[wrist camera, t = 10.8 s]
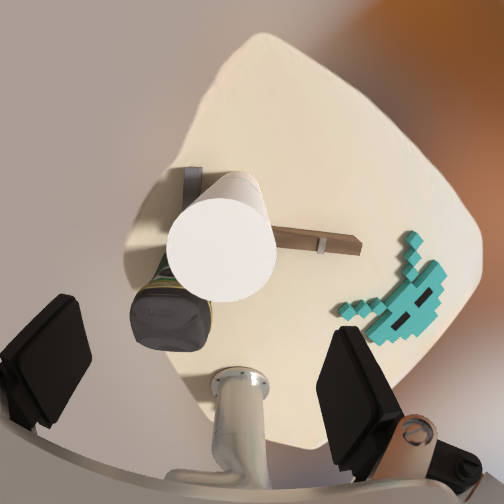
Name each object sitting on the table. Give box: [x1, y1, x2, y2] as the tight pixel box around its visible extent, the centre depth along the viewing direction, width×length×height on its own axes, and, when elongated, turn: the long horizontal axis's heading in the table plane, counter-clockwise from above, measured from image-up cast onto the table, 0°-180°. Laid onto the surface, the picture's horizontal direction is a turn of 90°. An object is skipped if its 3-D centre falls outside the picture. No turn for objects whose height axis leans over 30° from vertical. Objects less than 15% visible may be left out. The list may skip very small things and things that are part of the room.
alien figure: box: [338, 231, 447, 346], centre depth 48 cm, size 20×2×20 cm
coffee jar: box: [130, 252, 212, 352], centre depth 36 cm, size 10×8×19 cm
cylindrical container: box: [166, 171, 277, 302], centre depth 29 cm, size 7×7×25 cm
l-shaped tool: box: [182, 167, 363, 256], centre depth 40 cm, size 10×27×4 cm, turn 84°
